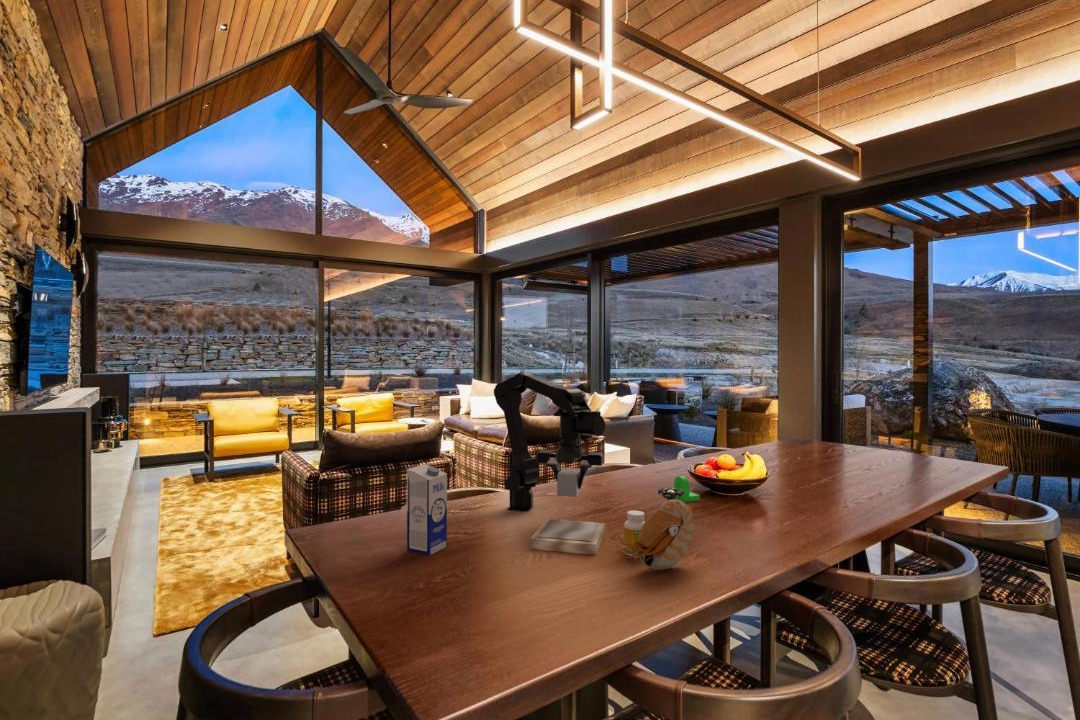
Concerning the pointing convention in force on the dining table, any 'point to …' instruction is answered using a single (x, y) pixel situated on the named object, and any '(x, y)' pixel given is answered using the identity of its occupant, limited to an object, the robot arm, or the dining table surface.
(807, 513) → the dining table surface
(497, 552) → the dining table surface
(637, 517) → the supplement bottle
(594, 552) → the stand
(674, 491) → the valve
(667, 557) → the nautilus
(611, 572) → the dining table surface
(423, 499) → the milk carton
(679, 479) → the mechanical part
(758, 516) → the dining table surface
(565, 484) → the block
